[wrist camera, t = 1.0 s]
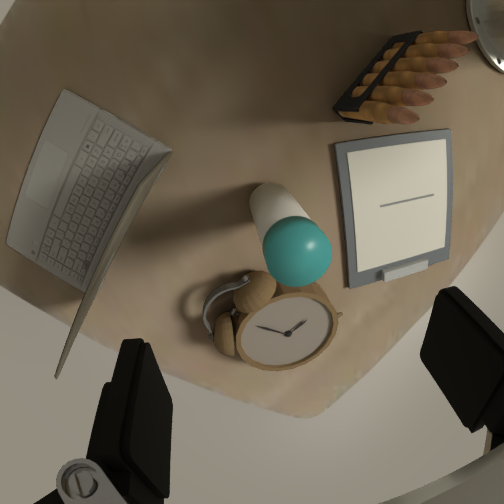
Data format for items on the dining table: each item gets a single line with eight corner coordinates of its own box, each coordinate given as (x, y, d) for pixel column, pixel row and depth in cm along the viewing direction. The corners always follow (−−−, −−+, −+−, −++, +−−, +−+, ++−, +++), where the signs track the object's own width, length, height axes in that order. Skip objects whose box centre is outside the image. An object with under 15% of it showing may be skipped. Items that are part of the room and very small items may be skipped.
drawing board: (448, 128, 28) (455, 130, 27) (446, 257, 35) (452, 261, 34) (333, 143, 28) (338, 145, 27) (348, 286, 35) (352, 293, 34)
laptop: (66, 87, 23) (-20, 89, 11) (175, 150, 27) (146, 186, 15) (8, 240, 28) (-58, 305, 17) (97, 295, 33) (57, 382, 21)
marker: (285, 173, 29) (328, 219, 18) (292, 213, 31) (334, 277, 20) (242, 183, 29) (260, 235, 18) (251, 223, 31) (273, 293, 20)
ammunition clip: (345, 122, 27) (419, 139, 17) (331, 109, 27) (400, 118, 16) (405, 48, 24) (490, 39, 14) (393, 35, 24) (475, 18, 13)
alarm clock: (304, 377, 37) (188, 362, 31) (290, 349, 41) (183, 329, 35) (359, 309, 33) (237, 274, 27) (338, 283, 38) (225, 245, 31)
